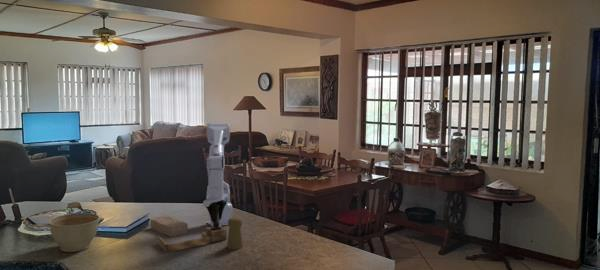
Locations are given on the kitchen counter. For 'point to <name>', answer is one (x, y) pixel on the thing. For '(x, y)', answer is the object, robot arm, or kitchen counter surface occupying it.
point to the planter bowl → (74, 230)
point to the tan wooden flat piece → (185, 243)
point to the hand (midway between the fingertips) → (216, 220)
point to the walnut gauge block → (216, 233)
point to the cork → (235, 233)
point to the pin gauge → (216, 224)
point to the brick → (168, 226)
